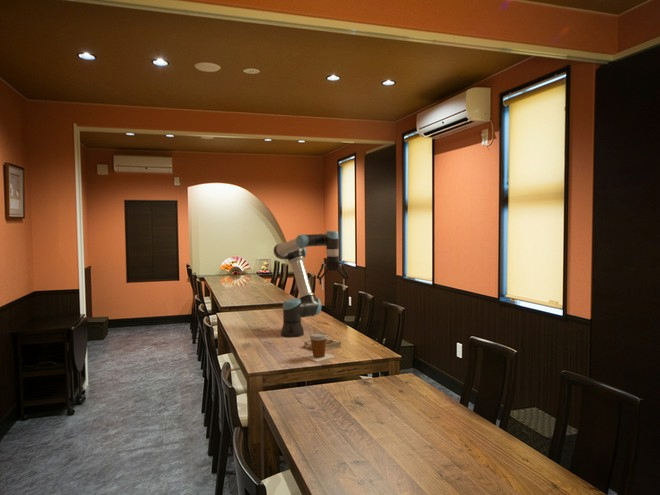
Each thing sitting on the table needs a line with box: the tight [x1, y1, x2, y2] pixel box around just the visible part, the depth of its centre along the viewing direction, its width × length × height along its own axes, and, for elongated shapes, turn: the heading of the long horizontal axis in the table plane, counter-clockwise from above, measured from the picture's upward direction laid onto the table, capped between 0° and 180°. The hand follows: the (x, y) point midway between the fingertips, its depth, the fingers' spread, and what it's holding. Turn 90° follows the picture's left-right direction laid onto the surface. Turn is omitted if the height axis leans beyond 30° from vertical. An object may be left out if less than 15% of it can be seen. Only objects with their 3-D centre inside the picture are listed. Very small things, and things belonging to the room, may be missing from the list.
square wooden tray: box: [303, 337, 342, 352], centre depth 278 cm, size 15×15×3 cm
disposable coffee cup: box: [309, 332, 328, 358], centre depth 257 cm, size 10×10×12 cm
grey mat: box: [302, 352, 336, 363], centre depth 257 cm, size 13×13×1 cm
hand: (333, 289), depth 291 cm, fingers open, 13 cm apart
